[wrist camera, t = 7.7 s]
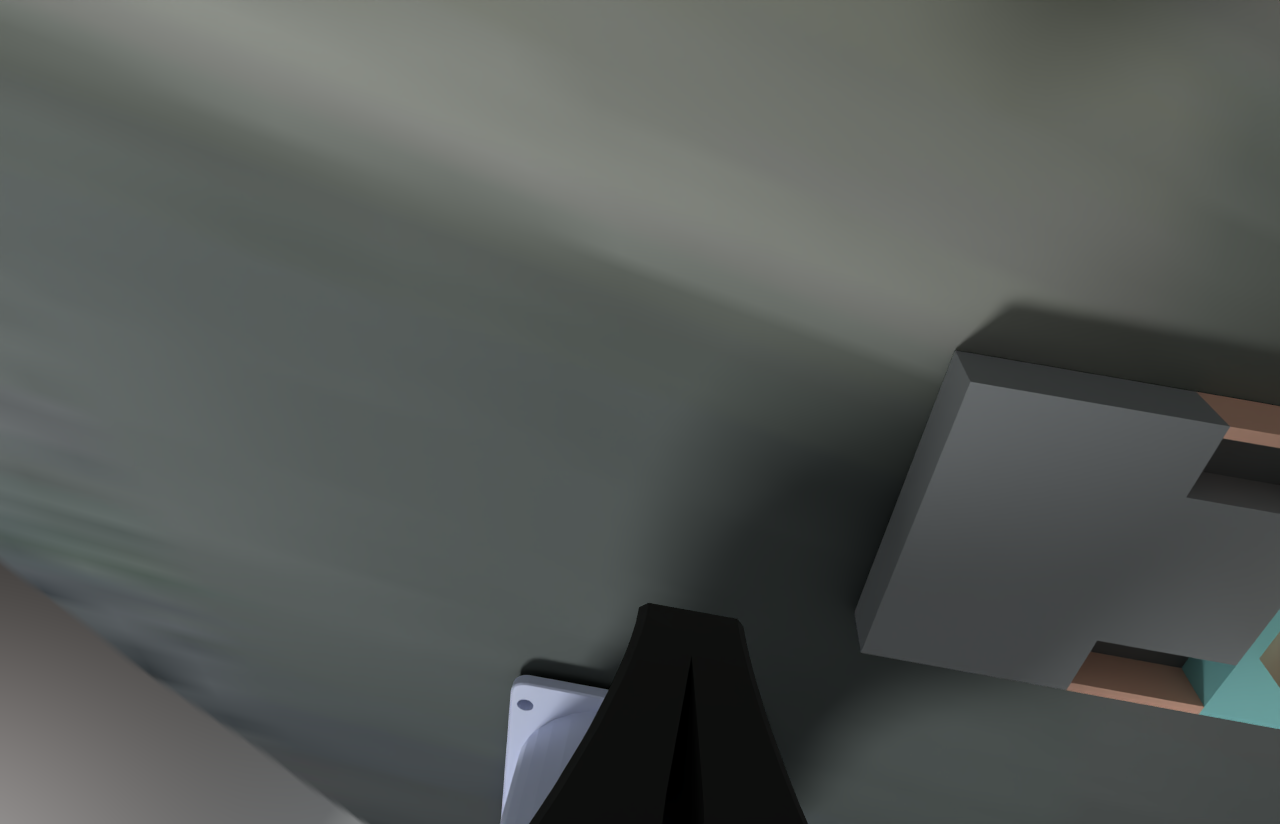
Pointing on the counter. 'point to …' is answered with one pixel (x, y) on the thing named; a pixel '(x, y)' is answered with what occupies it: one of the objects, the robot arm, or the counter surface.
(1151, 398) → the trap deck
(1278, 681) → the maple block
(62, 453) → the counter surface
